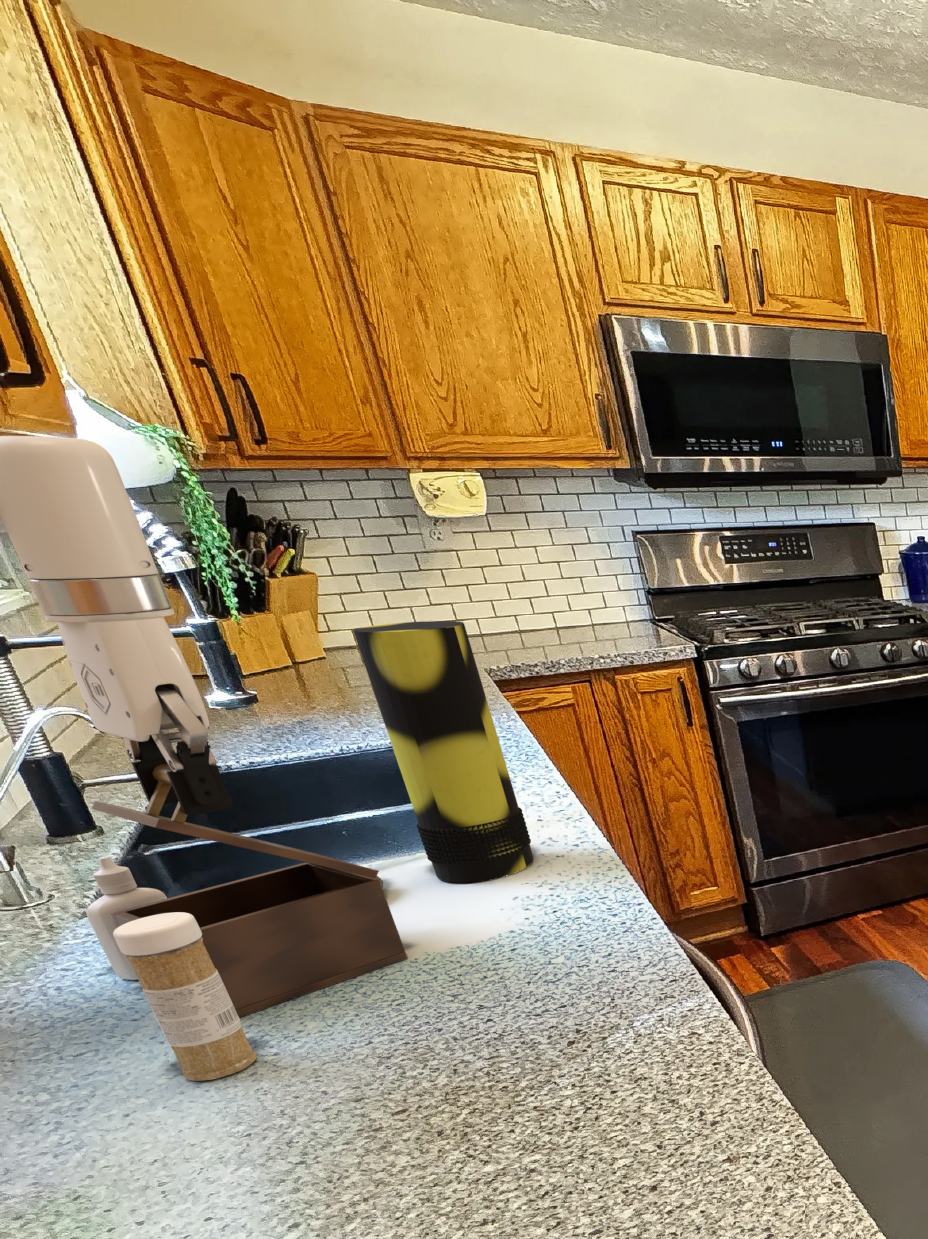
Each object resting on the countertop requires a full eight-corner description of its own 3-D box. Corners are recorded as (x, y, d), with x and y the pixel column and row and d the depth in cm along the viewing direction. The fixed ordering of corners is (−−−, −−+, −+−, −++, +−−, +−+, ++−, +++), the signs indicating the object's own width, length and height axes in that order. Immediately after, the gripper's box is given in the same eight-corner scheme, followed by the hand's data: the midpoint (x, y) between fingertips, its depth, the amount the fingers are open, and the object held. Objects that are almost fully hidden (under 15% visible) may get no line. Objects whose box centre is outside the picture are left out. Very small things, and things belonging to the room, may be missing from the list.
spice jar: (220, 1054, 84) (153, 910, 79) (273, 1054, 84) (209, 910, 79) (168, 1084, 80) (92, 933, 75) (223, 1084, 80) (152, 933, 75)
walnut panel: (155, 827, 83) (181, 765, 84) (91, 808, 88) (116, 750, 89) (376, 878, 98) (396, 825, 99) (310, 859, 103) (330, 809, 104)
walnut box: (215, 1026, 89) (173, 937, 85) (151, 998, 94) (109, 913, 91) (408, 958, 102) (379, 879, 98) (342, 936, 107) (312, 860, 103)
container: (515, 849, 133) (446, 618, 121) (551, 865, 127) (482, 624, 115) (420, 872, 125) (336, 627, 113) (454, 891, 119) (368, 634, 107)
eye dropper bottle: (116, 972, 99) (60, 860, 94) (193, 953, 103) (143, 845, 98) (120, 985, 97) (62, 870, 92) (198, 965, 100) (147, 854, 96)
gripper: (0, 598, 83) (94, 804, 90) (86, 609, 76) (181, 831, 83) (121, 591, 89) (200, 784, 96) (211, 600, 82) (290, 808, 89)
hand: (190, 804), depth 90 cm, fingers closed on walnut panel, 6 cm apart
